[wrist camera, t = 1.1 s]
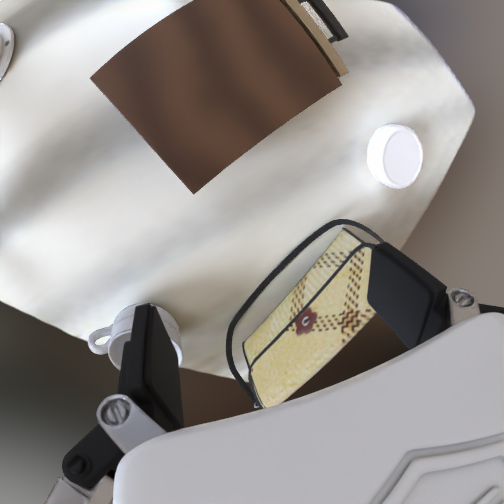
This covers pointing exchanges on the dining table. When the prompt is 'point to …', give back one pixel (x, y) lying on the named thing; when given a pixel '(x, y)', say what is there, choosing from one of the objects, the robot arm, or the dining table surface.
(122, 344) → the teacup
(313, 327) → the clutch purse
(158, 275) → the dining table surface
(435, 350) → the robot arm
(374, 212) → the dining table surface
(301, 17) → the drawer
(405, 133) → the white round disc
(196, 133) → the cabinet
